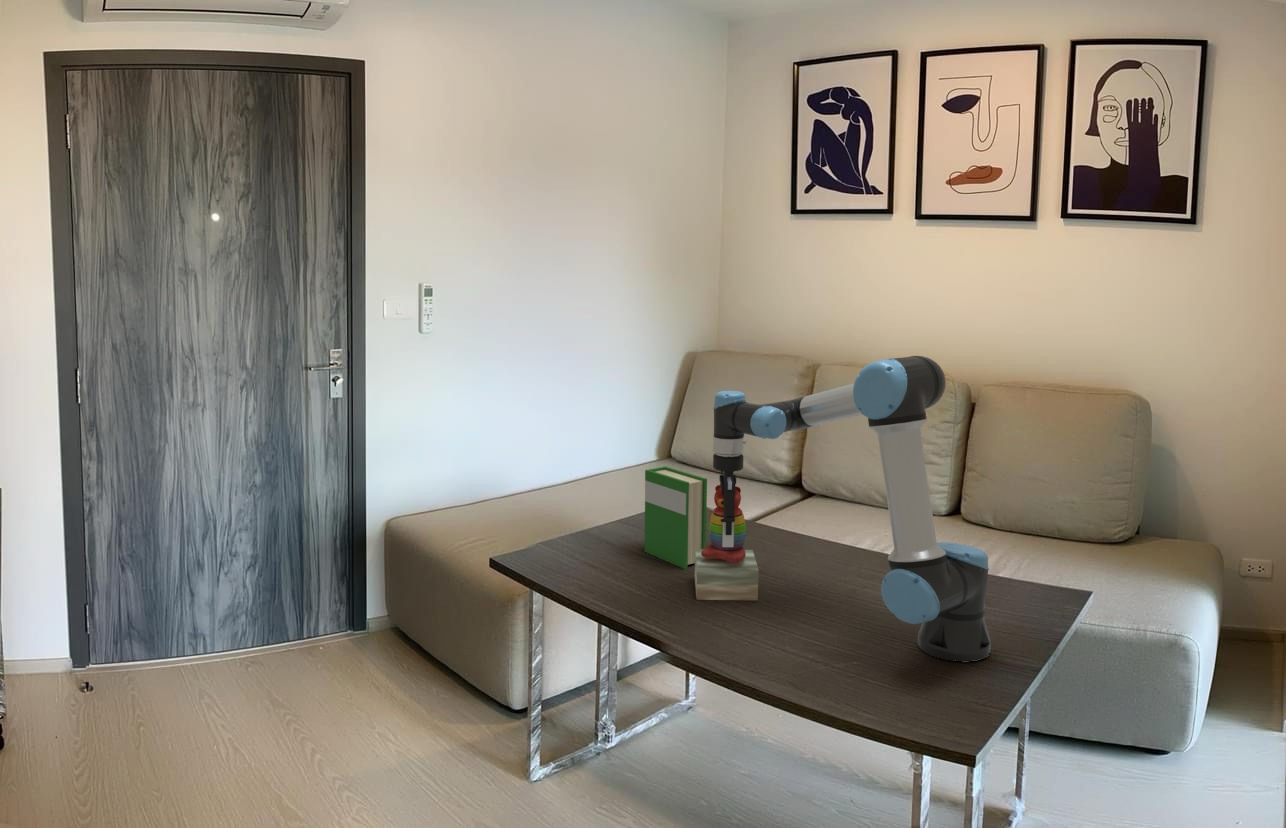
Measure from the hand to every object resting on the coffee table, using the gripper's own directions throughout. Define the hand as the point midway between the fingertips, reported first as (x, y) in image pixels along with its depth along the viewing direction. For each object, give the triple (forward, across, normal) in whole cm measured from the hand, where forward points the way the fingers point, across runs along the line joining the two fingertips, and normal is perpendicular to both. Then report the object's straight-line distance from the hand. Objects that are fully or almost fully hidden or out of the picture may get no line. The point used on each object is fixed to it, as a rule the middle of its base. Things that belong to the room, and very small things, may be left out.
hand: (726, 540), depth 238 cm
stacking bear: (+4, 0, 0) cm, 4 cm away
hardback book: (+13, +24, +13) cm, 30 cm away
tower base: (+13, 0, 0) cm, 13 cm away
